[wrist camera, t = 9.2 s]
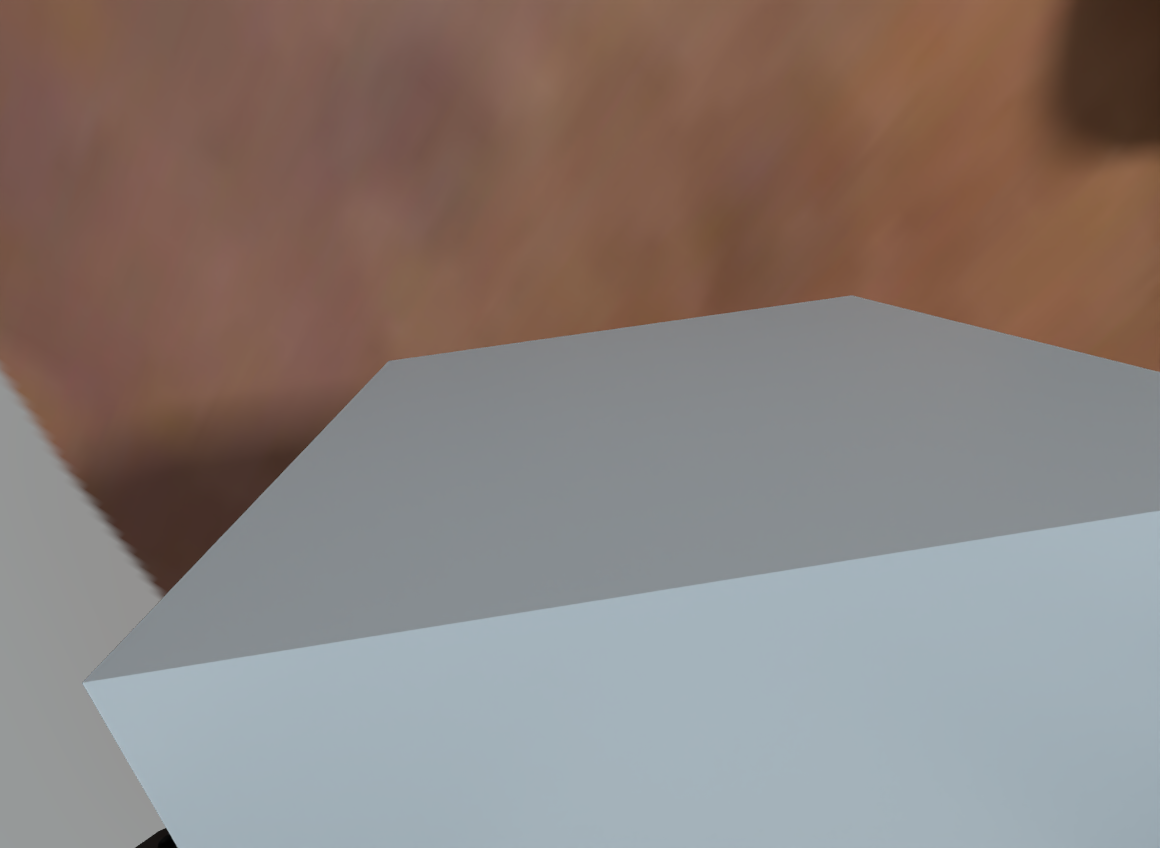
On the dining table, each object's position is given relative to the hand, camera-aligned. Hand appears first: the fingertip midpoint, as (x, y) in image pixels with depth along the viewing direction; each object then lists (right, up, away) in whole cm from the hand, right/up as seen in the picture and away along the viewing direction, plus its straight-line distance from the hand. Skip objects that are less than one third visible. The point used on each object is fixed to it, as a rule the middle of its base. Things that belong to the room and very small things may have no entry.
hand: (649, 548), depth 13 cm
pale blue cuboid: (0, 0, +1) cm, 1 cm away
